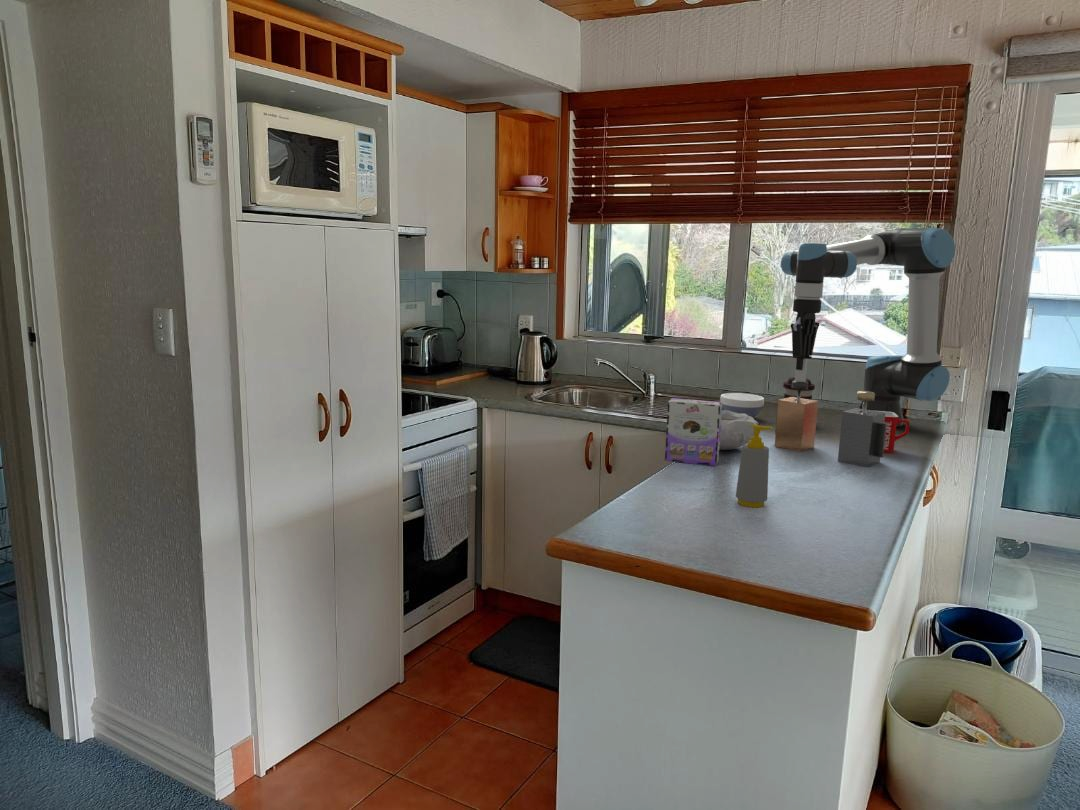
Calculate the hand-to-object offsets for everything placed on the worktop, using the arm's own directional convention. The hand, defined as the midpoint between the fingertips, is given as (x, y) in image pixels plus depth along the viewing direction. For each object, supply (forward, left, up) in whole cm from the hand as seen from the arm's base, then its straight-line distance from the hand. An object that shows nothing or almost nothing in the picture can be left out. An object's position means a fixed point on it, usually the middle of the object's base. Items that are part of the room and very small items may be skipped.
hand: (800, 380), depth 231 cm
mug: (-18, +19, -20) cm, 33 cm away
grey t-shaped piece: (0, 0, -18) cm, 18 cm away
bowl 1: (-24, -32, -20) cm, 45 cm away
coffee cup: (-32, -16, -20) cm, 41 cm away
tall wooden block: (0, 0, -20) cm, 20 cm away
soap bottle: (+59, +20, -20) cm, 65 cm away
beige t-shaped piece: (+2, +20, -18) cm, 27 cm away
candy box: (+38, -10, -20) cm, 44 cm away
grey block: (+2, +20, -20) cm, 28 cm away
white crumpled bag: (+19, -13, -20) cm, 30 cm away
